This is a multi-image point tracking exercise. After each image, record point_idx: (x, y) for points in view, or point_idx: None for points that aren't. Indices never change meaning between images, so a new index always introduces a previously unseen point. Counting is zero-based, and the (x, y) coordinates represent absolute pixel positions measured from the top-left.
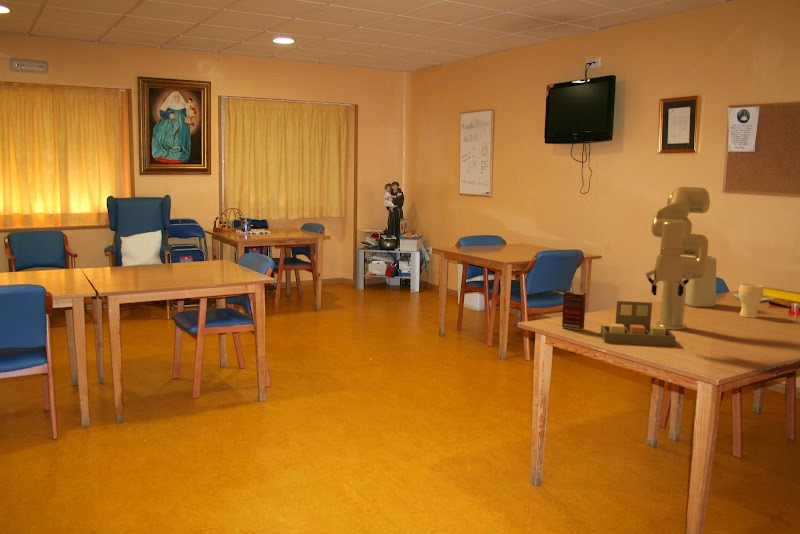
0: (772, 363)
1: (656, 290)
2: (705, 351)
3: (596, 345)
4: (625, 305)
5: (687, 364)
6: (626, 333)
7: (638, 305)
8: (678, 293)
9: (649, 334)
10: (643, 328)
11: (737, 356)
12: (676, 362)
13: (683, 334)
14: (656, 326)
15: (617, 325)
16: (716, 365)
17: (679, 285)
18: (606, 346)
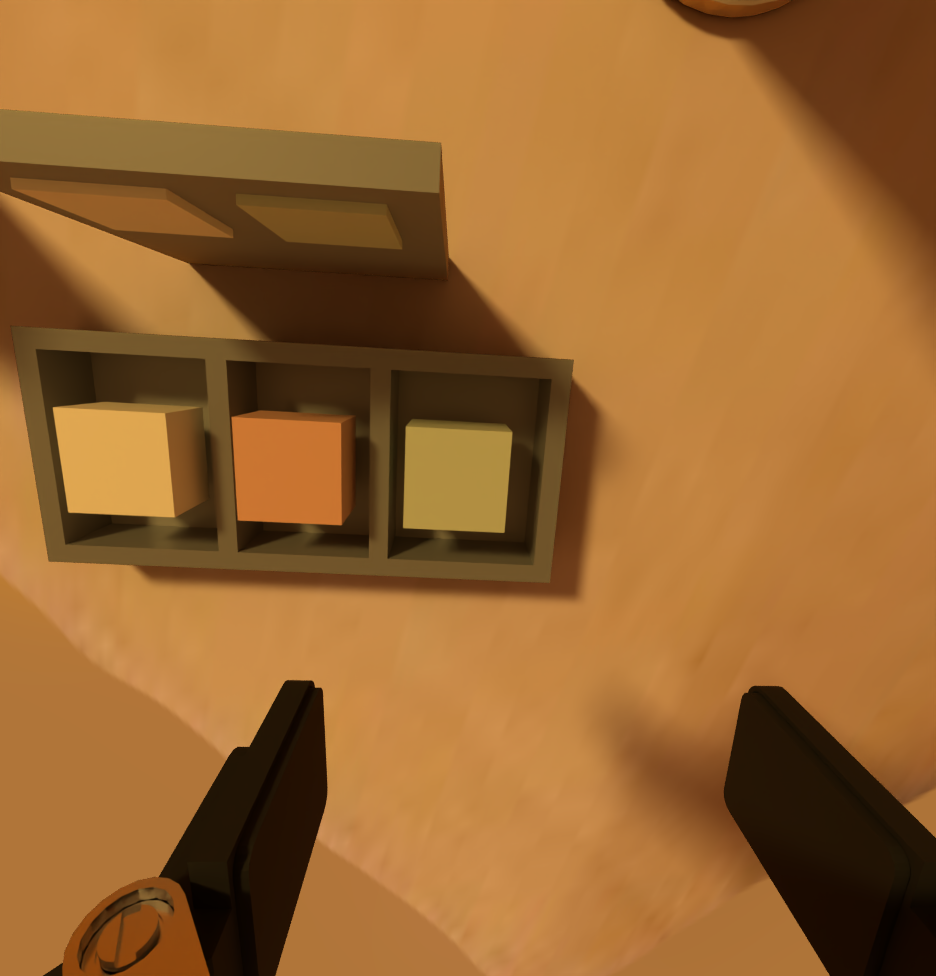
0: (927, 780)
1: (300, 886)
2: (685, 628)
3: (52, 614)
4: (80, 196)
5: (491, 862)
6: (207, 557)
7: (256, 202)
8: (754, 764)
9: (375, 554)
10: (328, 523)
11: (819, 694)
12: (447, 842)
13: (734, 180)
14: (451, 449)
15: (116, 477)
16: (626, 854)
17: (908, 927)
18: (113, 626)
